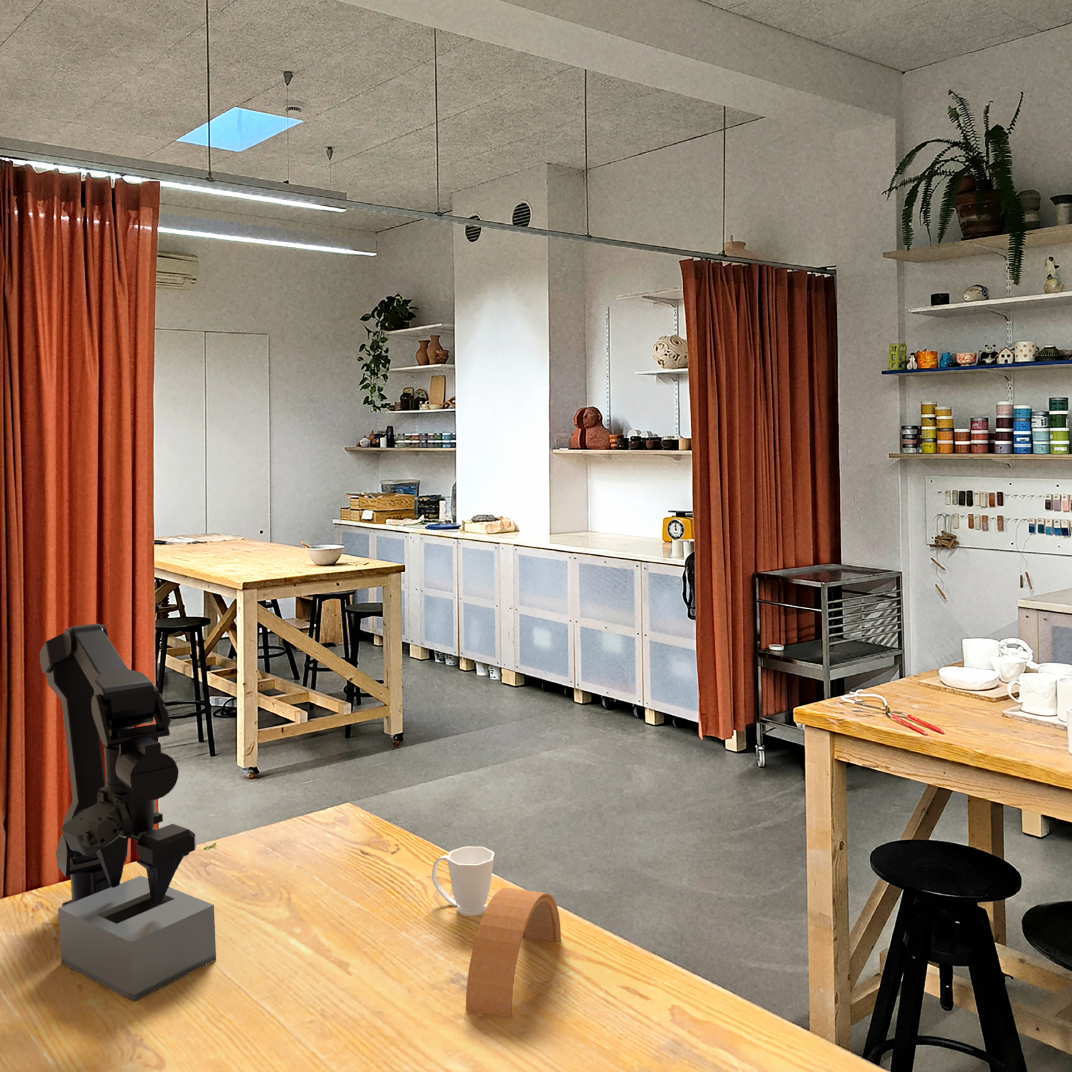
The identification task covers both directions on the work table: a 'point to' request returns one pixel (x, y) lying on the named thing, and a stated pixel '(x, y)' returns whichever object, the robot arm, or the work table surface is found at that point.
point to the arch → (506, 945)
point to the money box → (136, 937)
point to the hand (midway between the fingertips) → (135, 895)
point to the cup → (467, 878)
